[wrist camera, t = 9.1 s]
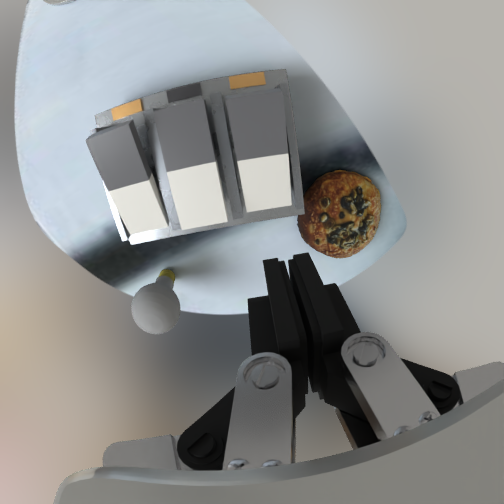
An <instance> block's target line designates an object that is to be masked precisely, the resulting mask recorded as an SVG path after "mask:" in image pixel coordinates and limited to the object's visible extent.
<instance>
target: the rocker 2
mask: <svg viewBox="0 0 504 504" xmlns="http://www.w3.org/2000/svg"><path fill="white" fill-rule="evenodd" d="M153 113H154V118H155V123H156V128H157V133H158V137H159V142H160V146H161V151H162V155H163V159H164V164H165V168H166V172H167V176H168V180H169V184H170V188H171V192H172V196H173V200H174V204H175V207H176V211H177V215H178V218H179V222H180V226H181V229H182V230H186V229H191V228H196V227H202V226H207V225H213V224H219V223H224V222H228V213H227V208H226V203H225V198H224V193H223V188H222V183H221V178H220V173H219V168H218V163H217V158H216V153H215V148H214V143H213V138H212V132H211V127H210V122H209V117H208V111H207V106H206V100H205V99H199V100H195V101H191V102H186V103H182V104H178V105H174V106H171V107H167V108H163V109H160V110H156V111H153Z"/></svg>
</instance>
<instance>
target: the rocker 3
mask: <svg viewBox="0 0 504 504" xmlns="http://www.w3.org/2000/svg"><path fill="white" fill-rule="evenodd" d="M225 99H226V104H227V110H228V115H229V120H230V126H231V131H232V136H233V141H234V147H235V152H236V157H237V163H238V168H239V173H240V179H241V184H242V189H243V195H244V200H245V205H246V211H247V212H252V211H258V210H265V209H271V208H277V207H284V206H290V205H292V203H291V186H290V170H289V156H288V143H287V131H286V120H285V109H284V99H283V91H282V90H281V89H280V88H276V89H267V90H259V91H252V92H245V93H238V94H232V95H227V96H225Z"/></svg>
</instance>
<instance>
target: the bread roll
mask: <svg viewBox="0 0 504 504" xmlns="http://www.w3.org/2000/svg"><path fill="white" fill-rule="evenodd" d="M303 201H304V212H305V214H302V215H298V219H297V221H298V224H297V225H298V227H299V231H300V233H301V237H302V238H303V239H304V241H305V242H306V243H307V244H309V245H310V246H311V247H312V248H314V249H315V250H316V251H318V252H321V253H323V254H325V255H327V256H330V257H334V258H346V257H350V256H352V255H353V254H356V253H358V252H360V250H362V249H363V248H364V247H365V246H366V245H368V244H369V243H370V241H371V240H372V239H373V237H374V235H375V233H376V231H377V228H378V224H379V221H380V212H381V203H380V193H379V190H378V189H377V188H376V187H375V185H374V184H372V181H371V180H370V179H369V178H368V177H364V176H362V175H359V174H358V173H355V172H347V171H343V170H337V171H334V172H329V173H326V174H324V175H323V176H321V177H319V178H317V180H316V181H315V182H314V183H313V184H312V186H311V187H310V188H309V189H307V191H306V192H305V194H304V195H303Z"/></svg>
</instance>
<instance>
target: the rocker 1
mask: <svg viewBox="0 0 504 504" xmlns="http://www.w3.org/2000/svg"><path fill="white" fill-rule="evenodd" d="M85 141H86V143H87V145H88V148H89V150H90V153H91V155H92V157H93V160H94V162H95V164H96V166H97V169H98V171H99V173H100V175H101V177H102V180H103V182H104V184H105V186H106V188H107V190H108V192H109V194H110V196H111V198H112V200H113V202H114V204H115V206H116V208H117V210H118V212H119V214H120V216H121V218H122V220H123V222H124V224H125V226H126V228H127V230H128V231H129V233H130V235H132V234H137V233H141V232H146V231H151V230H156V229H161V228H166V227H168V225H169V218H168V214H167V211H166V208H165V205H164V203H163V200H162V198H161V195H160V193H159V190H158V188H157V185H156V182H155V180H154V177H153V174H152V172H151V169H150V166H149V164H148V161H147V158H146V155H145V152H144V150H143V147H142V144H141V141H140V138H139V135H138V132H137V129H136V126H135V123H134V120H133V119H132V120H129V121H126V122H123V123H121V124H118V125H115V126H112V127H110V128H107V129H104V130H102V131H99V132H97V133H94V134H92V135H91V136H90V137H88V138H87V139H86V140H85Z"/></svg>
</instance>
